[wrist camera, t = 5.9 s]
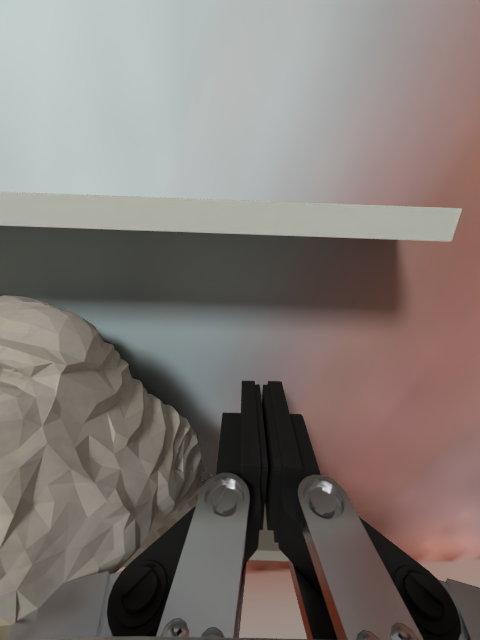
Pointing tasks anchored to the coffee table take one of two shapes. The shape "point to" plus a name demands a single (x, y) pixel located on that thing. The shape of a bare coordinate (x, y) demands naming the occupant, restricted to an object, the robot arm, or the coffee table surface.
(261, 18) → the coffee table surface
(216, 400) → the coffee table surface
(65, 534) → the fossil replica
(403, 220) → the channel
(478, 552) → the coffee table surface
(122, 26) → the coffee table surface
